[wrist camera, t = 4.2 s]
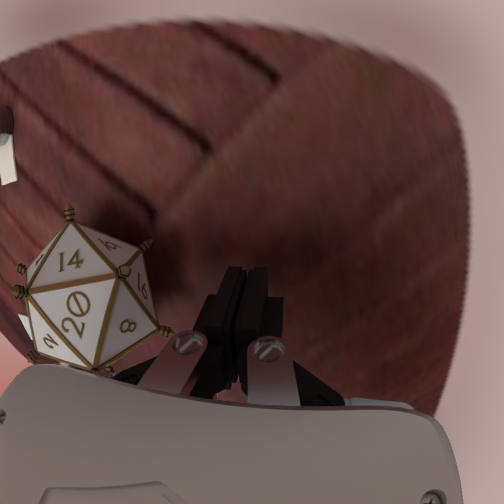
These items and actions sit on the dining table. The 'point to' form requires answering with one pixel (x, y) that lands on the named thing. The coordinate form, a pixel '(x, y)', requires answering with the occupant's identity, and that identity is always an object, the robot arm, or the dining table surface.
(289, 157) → the dining table surface
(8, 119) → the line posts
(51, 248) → the game die
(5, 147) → the distance lines
